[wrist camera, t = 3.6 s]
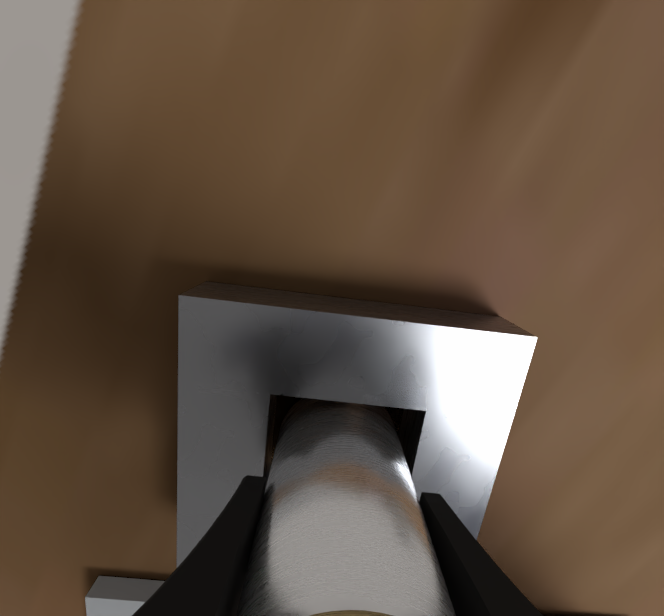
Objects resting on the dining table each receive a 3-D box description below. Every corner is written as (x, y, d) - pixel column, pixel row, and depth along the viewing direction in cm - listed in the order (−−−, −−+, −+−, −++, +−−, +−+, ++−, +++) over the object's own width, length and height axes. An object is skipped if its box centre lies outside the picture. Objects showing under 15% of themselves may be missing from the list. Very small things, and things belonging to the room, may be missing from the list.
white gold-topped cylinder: (386, 494, 15) (449, 796, 7) (273, 484, 15) (212, 783, 7) (406, 394, 13) (510, 628, 6) (283, 381, 13) (221, 605, 6)
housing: (439, 543, 17) (458, 598, 14) (199, 522, 16) (176, 575, 14) (500, 316, 14) (537, 337, 11) (206, 281, 13) (178, 295, 11)
